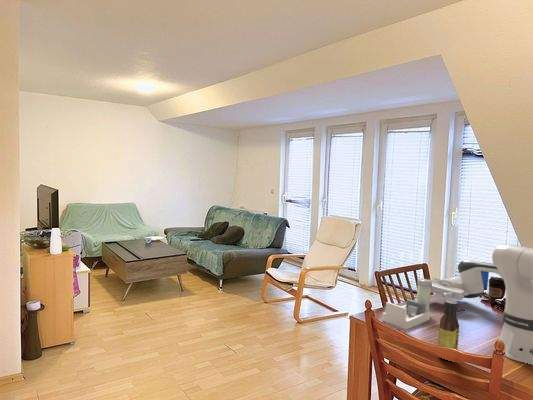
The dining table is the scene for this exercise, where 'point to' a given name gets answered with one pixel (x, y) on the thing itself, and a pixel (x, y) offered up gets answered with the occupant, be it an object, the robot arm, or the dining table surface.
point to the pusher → (415, 307)
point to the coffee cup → (496, 288)
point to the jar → (424, 292)
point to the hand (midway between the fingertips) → (434, 292)
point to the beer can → (485, 279)
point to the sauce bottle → (449, 326)
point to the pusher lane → (403, 316)
